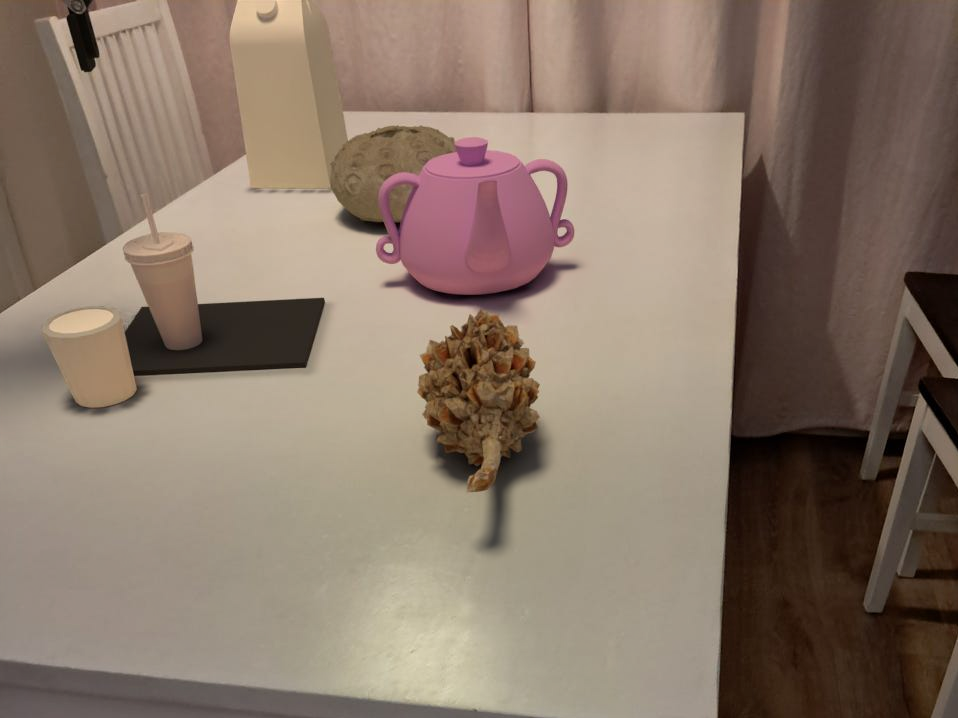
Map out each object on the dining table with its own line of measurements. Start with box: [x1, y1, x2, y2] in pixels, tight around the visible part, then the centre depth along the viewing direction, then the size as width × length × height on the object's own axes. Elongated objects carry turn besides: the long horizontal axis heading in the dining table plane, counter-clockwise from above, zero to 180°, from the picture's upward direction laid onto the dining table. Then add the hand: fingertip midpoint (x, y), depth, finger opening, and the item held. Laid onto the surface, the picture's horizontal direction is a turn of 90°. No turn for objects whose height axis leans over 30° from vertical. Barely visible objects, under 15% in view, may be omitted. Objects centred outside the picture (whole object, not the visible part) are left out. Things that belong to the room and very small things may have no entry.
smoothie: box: [122, 193, 202, 350], centre depth 88 cm, size 6×6×14 cm
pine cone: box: [416, 308, 541, 493], centre depth 69 cm, size 22×10×10 cm, turn 6°
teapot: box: [375, 136, 575, 296], centre depth 97 cm, size 22×22×14 cm
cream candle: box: [41, 305, 138, 409], centre depth 84 cm, size 7×7×7 cm
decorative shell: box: [330, 124, 457, 224], centre depth 118 cm, size 18×18×10 cm
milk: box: [229, 0, 349, 189], centre depth 128 cm, size 12×12×26 cm
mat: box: [124, 297, 326, 376], centre depth 94 cm, size 20×16×1 cm
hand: (30, 73), depth 77 cm, fingers open, 9 cm apart
